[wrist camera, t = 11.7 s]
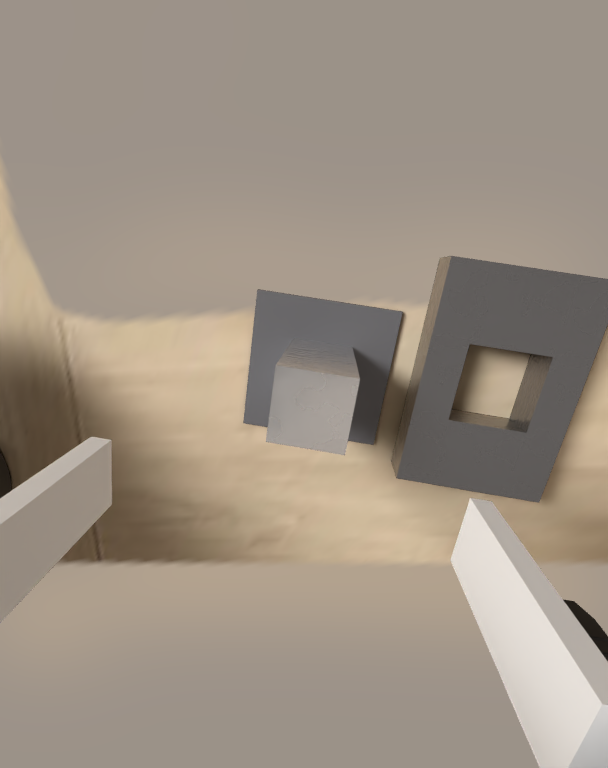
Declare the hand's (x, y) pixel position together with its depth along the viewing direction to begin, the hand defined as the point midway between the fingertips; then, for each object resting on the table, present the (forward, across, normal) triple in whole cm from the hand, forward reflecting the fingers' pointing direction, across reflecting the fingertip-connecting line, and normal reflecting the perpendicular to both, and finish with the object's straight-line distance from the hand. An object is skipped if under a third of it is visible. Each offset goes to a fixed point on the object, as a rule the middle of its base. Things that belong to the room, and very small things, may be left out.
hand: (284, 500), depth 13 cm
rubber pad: (+20, +1, 0) cm, 20 cm away
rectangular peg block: (+19, +1, 0) cm, 19 cm away
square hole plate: (+19, +15, +2) cm, 24 cm away
